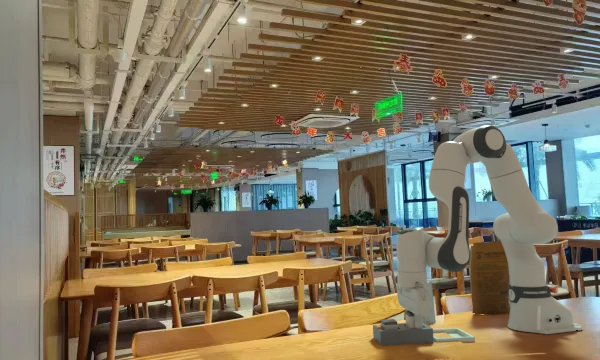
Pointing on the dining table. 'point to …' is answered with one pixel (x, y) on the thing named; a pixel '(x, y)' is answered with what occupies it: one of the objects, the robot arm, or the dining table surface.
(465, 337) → the tray
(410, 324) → the plug
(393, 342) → the grey socket block
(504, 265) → the pancake mix bag
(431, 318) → the skincare box
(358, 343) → the dining table surface
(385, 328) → the twin plug
